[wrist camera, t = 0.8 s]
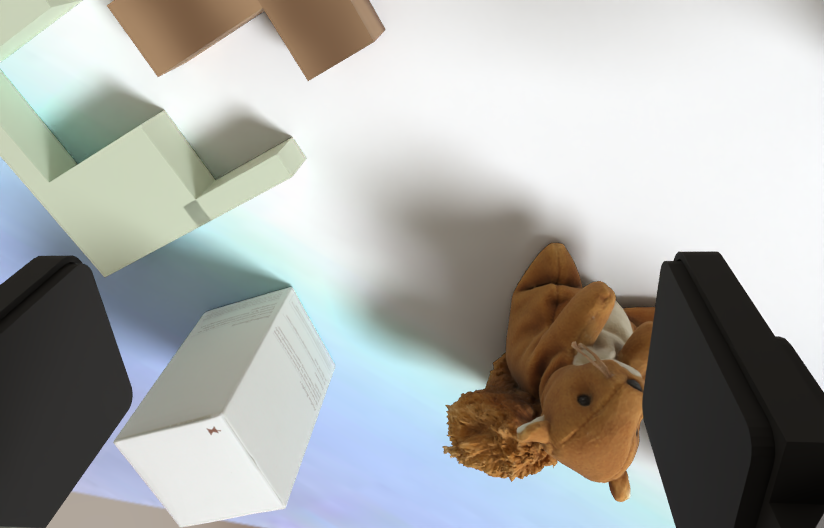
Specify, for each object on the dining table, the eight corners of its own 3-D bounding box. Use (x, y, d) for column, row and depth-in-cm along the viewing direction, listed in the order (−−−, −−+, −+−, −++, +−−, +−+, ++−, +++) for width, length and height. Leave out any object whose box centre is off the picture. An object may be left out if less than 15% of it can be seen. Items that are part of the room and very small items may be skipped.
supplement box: (202, 309, 46) (106, 439, 35) (294, 283, 44) (223, 412, 33) (250, 389, 49) (176, 531, 38) (339, 368, 47) (288, 512, 36)
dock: (77, -190, 32) (39, -198, 29) (306, 158, 39) (292, 176, 36) (-105, -26, 37) (-151, -20, 34) (128, 255, 44) (104, 277, 41)
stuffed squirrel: (693, 307, 41) (766, 466, 29) (541, 431, 47) (551, 601, 36) (572, 215, 39) (600, 346, 27) (431, 358, 45) (405, 512, 34)
